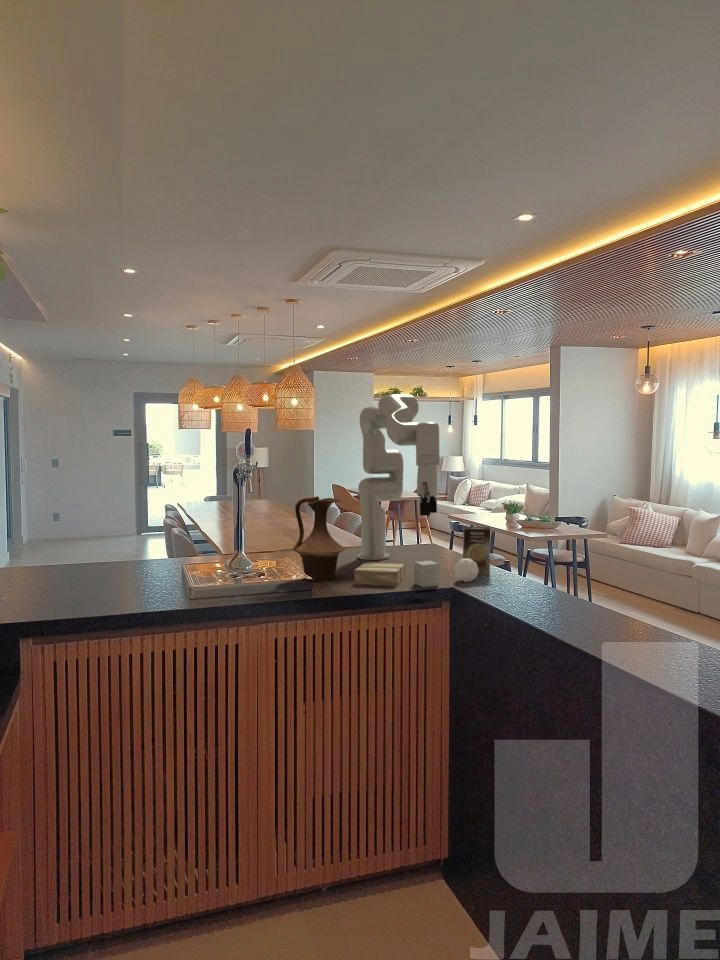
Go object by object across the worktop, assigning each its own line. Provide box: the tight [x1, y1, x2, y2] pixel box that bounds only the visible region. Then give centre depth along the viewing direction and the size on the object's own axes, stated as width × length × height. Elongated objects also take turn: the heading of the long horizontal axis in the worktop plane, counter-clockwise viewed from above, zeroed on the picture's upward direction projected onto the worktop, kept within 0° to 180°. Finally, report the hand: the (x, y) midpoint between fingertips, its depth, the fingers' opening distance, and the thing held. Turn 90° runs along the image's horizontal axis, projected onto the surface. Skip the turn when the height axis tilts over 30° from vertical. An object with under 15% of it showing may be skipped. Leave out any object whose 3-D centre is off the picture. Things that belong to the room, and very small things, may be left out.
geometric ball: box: [454, 557, 479, 583], centre depth 225 cm, size 8×8×8 cm
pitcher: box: [292, 496, 346, 582], centre depth 231 cm, size 18×17×28 cm
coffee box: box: [462, 526, 491, 576], centre depth 237 cm, size 9×6×16 cm
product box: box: [413, 560, 440, 588], centre depth 220 cm, size 6×6×7 cm
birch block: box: [353, 561, 406, 587], centre depth 228 cm, size 14×14×5 cm
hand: (428, 514), depth 220 cm, fingers open, 9 cm apart
